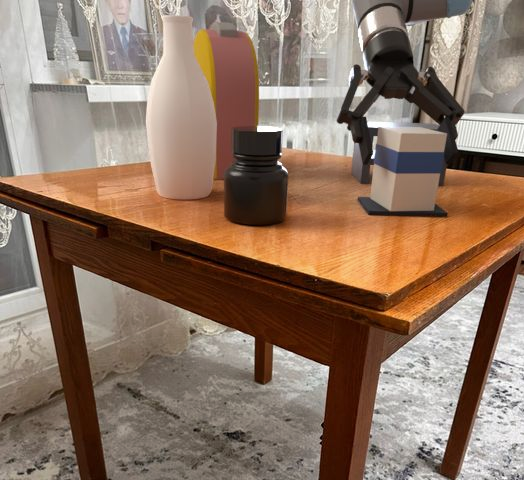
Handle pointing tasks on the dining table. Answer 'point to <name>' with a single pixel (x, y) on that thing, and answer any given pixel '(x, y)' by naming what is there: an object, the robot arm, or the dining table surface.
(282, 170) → the ink bottle
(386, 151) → the box
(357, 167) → the shelf
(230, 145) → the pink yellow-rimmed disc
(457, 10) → the robot arm
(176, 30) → the bottle
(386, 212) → the mat
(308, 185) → the dining table surface
